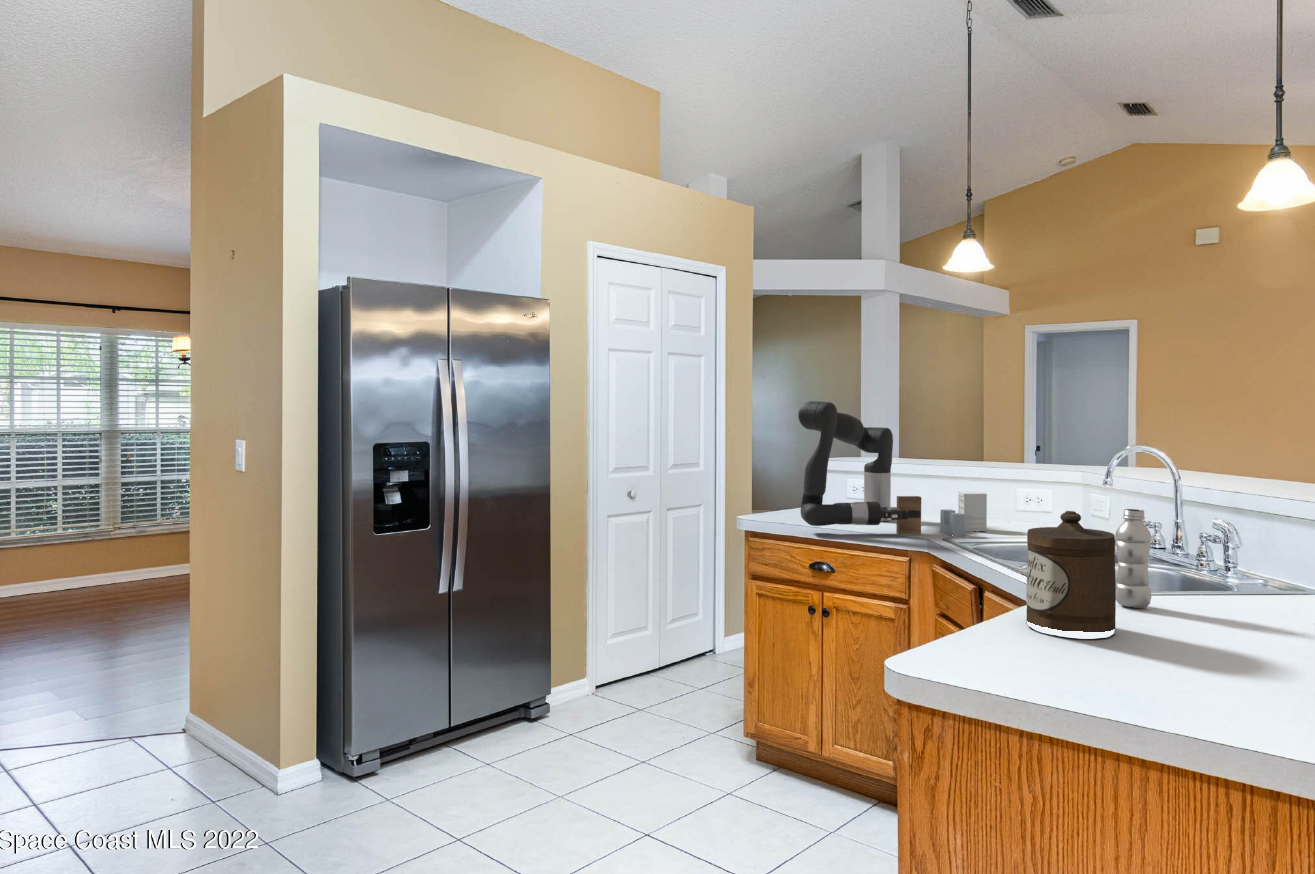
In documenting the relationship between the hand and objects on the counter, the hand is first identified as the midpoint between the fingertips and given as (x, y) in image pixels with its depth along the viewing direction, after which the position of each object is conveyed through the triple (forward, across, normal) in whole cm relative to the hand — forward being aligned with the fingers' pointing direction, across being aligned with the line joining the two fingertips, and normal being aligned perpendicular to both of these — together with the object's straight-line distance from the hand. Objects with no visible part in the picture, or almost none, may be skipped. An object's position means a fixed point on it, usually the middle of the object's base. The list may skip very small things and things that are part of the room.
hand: (917, 513), depth 265 cm
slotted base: (+11, 0, +7) cm, 13 cm away
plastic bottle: (+14, -96, +7) cm, 97 cm away
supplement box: (+20, +7, +7) cm, 22 cm away
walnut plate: (-3, 0, +7) cm, 7 cm away
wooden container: (-7, -112, +7) cm, 113 cm away
